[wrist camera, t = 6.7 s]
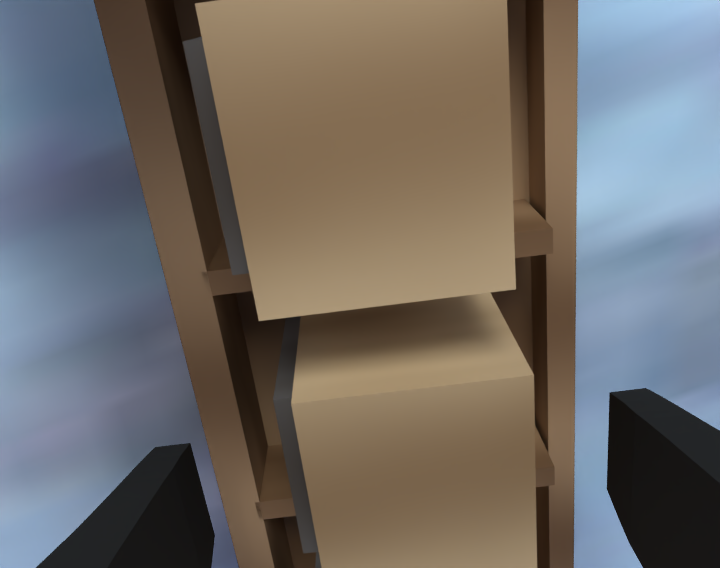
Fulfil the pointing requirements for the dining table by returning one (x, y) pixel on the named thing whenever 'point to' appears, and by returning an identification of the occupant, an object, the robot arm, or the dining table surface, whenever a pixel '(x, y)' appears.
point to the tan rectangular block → (410, 436)
